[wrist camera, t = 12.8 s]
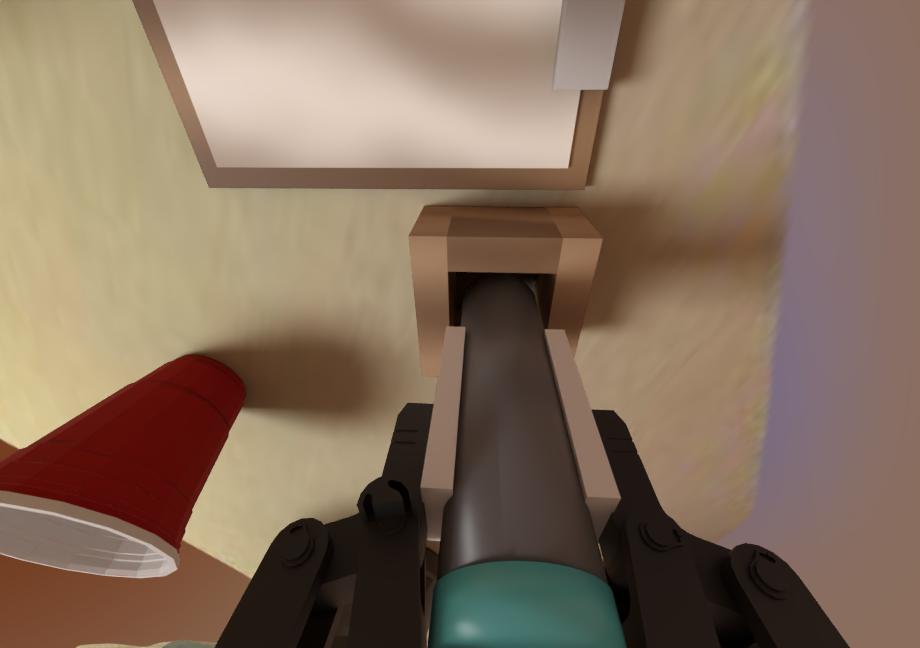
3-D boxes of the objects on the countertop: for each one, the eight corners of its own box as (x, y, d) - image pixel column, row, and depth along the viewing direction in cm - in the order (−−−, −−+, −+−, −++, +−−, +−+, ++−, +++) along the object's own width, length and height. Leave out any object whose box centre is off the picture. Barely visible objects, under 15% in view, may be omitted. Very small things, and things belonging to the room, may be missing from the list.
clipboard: (581, 187, 17) (590, 196, 15) (216, 185, 18) (192, 193, 16) (673, -301, 9) (709, -376, 8) (41, -259, 10) (-33, -318, 9)
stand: (554, 332, 22) (568, 381, 18) (432, 329, 22) (422, 376, 19) (577, 207, 17) (603, 238, 14) (424, 206, 18) (408, 236, 14)
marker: (527, 312, 19) (604, 692, 7) (464, 311, 20) (432, 679, 7) (534, 252, 17) (661, 644, 5) (463, 252, 18) (418, 627, 5)
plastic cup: (193, 431, 30) (53, 594, 21) (103, 337, 24) (-155, 502, 15) (302, 424, 29) (209, 596, 19) (235, 320, 23) (48, 493, 13)
